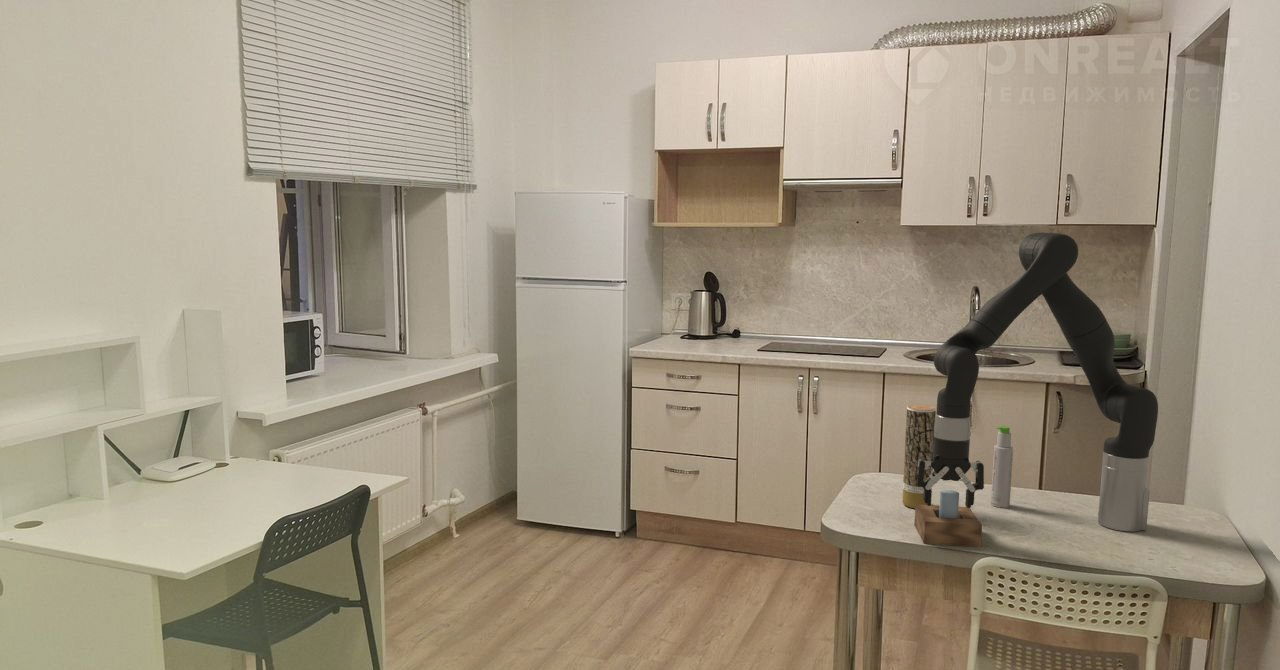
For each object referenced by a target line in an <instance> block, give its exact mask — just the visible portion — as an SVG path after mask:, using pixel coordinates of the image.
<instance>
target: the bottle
mask: <svg viewBox="0 0 1280 670" xmlns="http://www.w3.org/2000/svg"><path fill="white" fill-rule="evenodd" d="M996 429H998V430H999V431H998V432H997V439H996V441H997V442H996V444H995V445H994V446H993V461H992V463H993V464H992V476H991V477H992V480H991V491H990V492H991V495H990V505H991V506H993V507H995V506H996V508H1000V507H1002V508H1003V509H1005V508H1006V509H1007V508H1009V507H1010V506H1011V505H1010V504H1011V490H1012V489H1011V488H1012V487H1011V486H1012V476H1013V475H1012V474H1013V473H1012V472H1013V460H1014V458H1013V457H1014V447H1013V446H1012V433H1011V431H1010V427H1009V426H1003V425H1002V426H999V427H996Z"/></svg>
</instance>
